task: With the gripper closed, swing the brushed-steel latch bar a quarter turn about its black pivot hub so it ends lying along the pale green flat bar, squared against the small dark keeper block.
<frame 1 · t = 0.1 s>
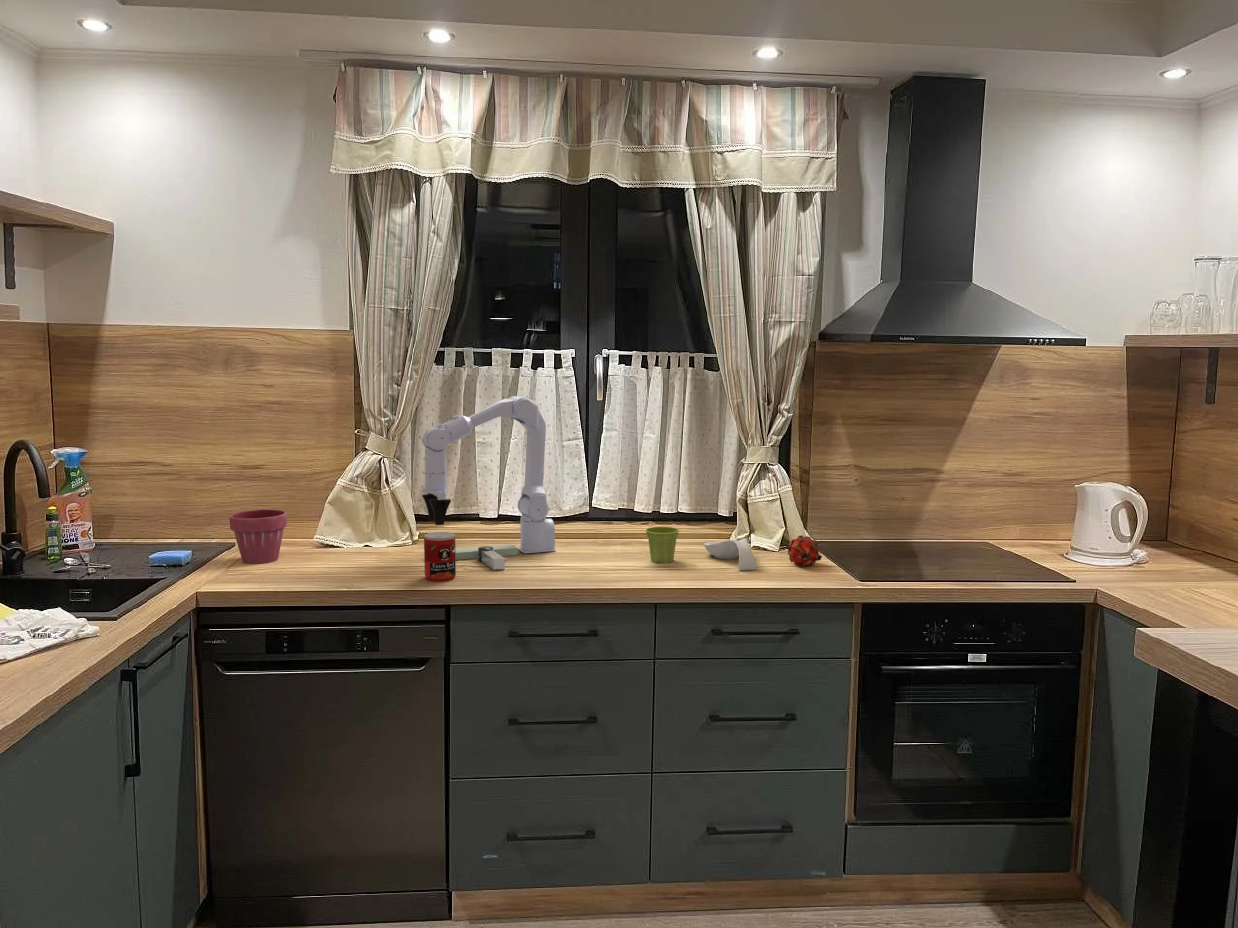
hand: (436, 522, 252), 10 cm above the worktop, fingers open, 7 cm apart
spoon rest: (732, 562, 254), on the worktop
canned food: (440, 578, 232), on the worktop
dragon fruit: (803, 566, 249), on the worktop
latch bar: (491, 557, 247), point 2 cm above the worktop, hinge at 90.0°
plant pot 2: (661, 561, 253), on the worktop
pale green flat bar: (472, 556, 257), on the worktop
keeper: (447, 561, 250), on the worktop
plant pot: (260, 560, 250), on the worktop
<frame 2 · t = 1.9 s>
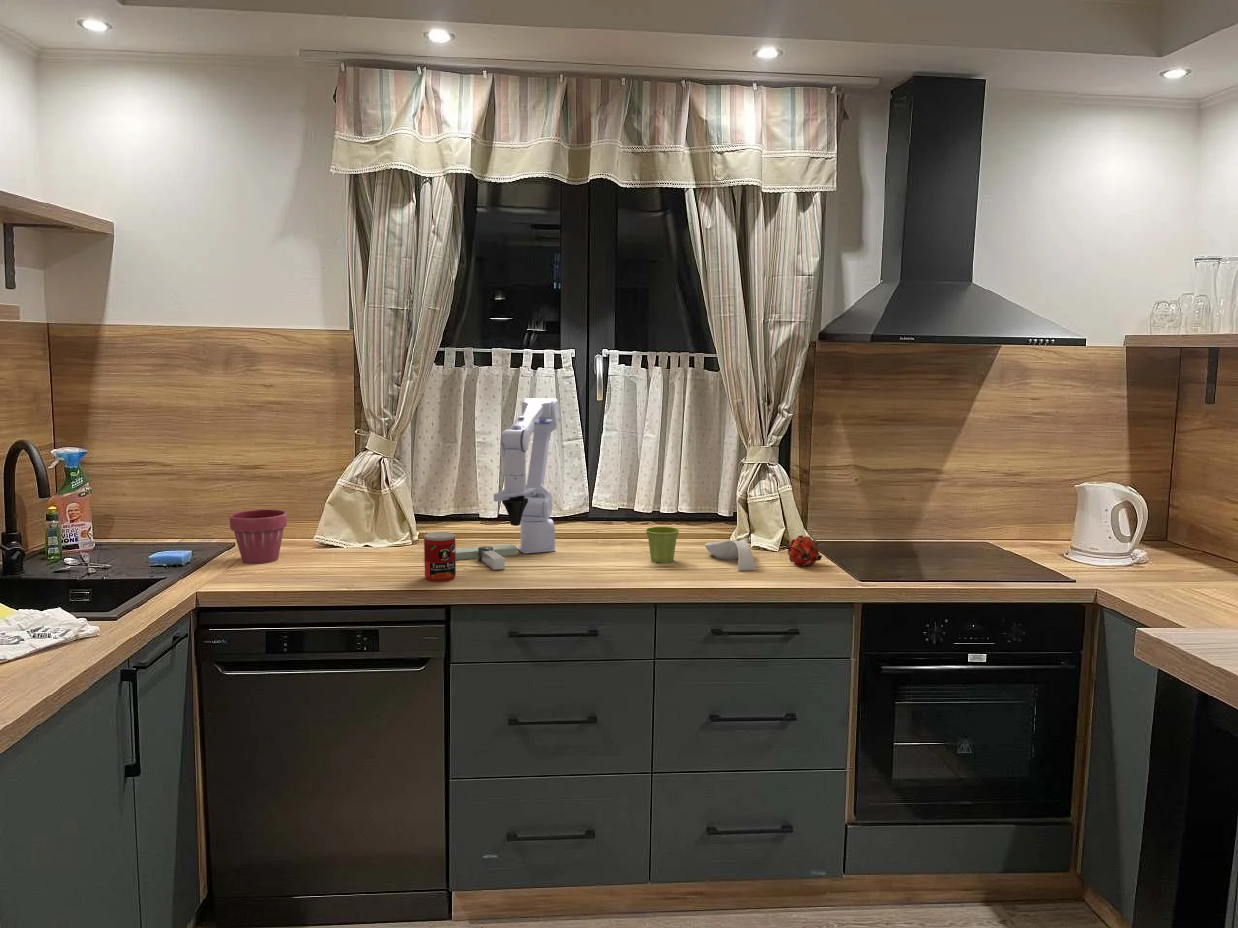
hand: (515, 525, 248), 10 cm above the worktop, fingers closed
nothing on the worktop moved.
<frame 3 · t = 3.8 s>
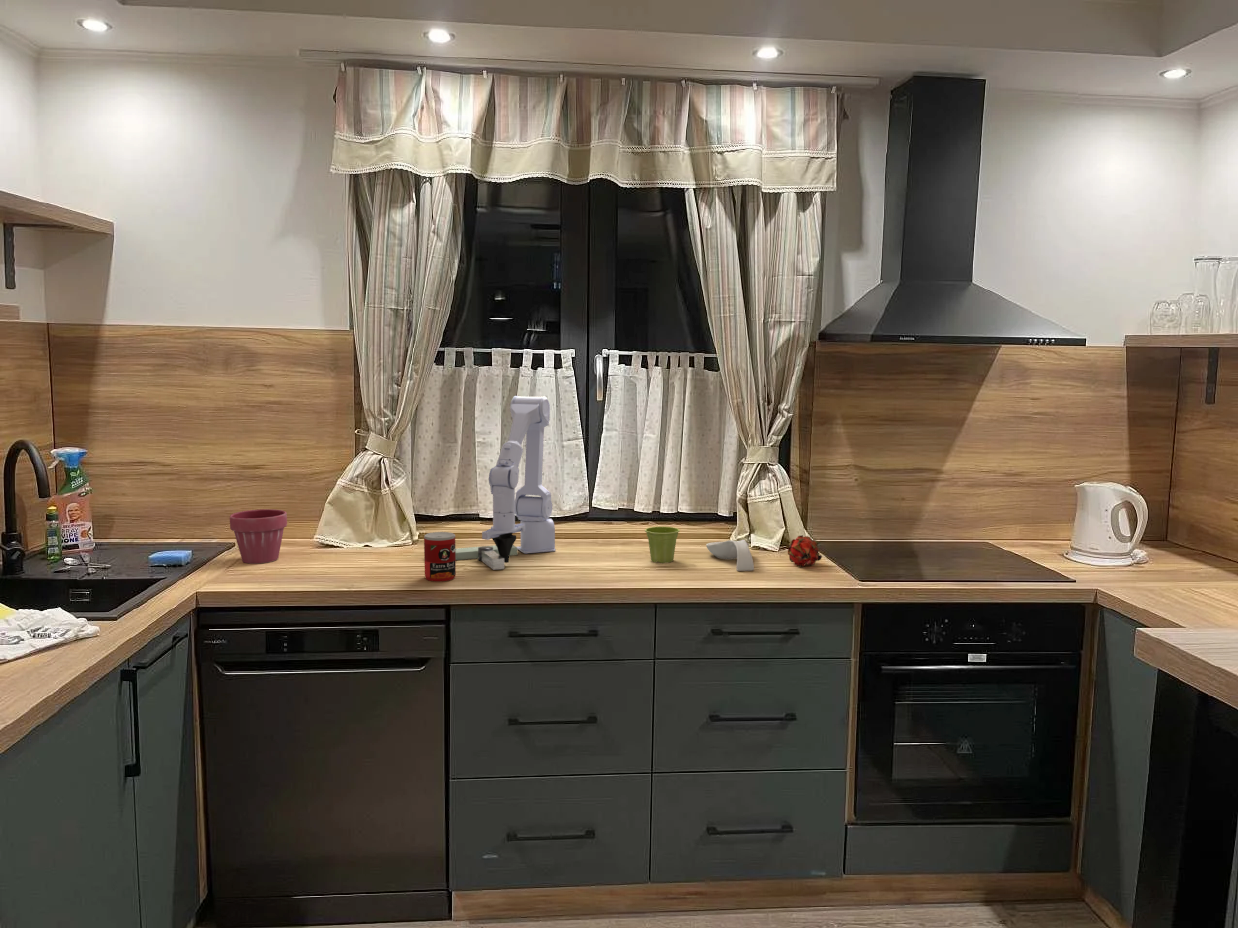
hand: (504, 562, 246), 1 cm above the worktop, fingers closed
latch bar: (491, 557, 247), point 2 cm above the worktop, hinge at 89.6°, touching gripper
everything else where it was.
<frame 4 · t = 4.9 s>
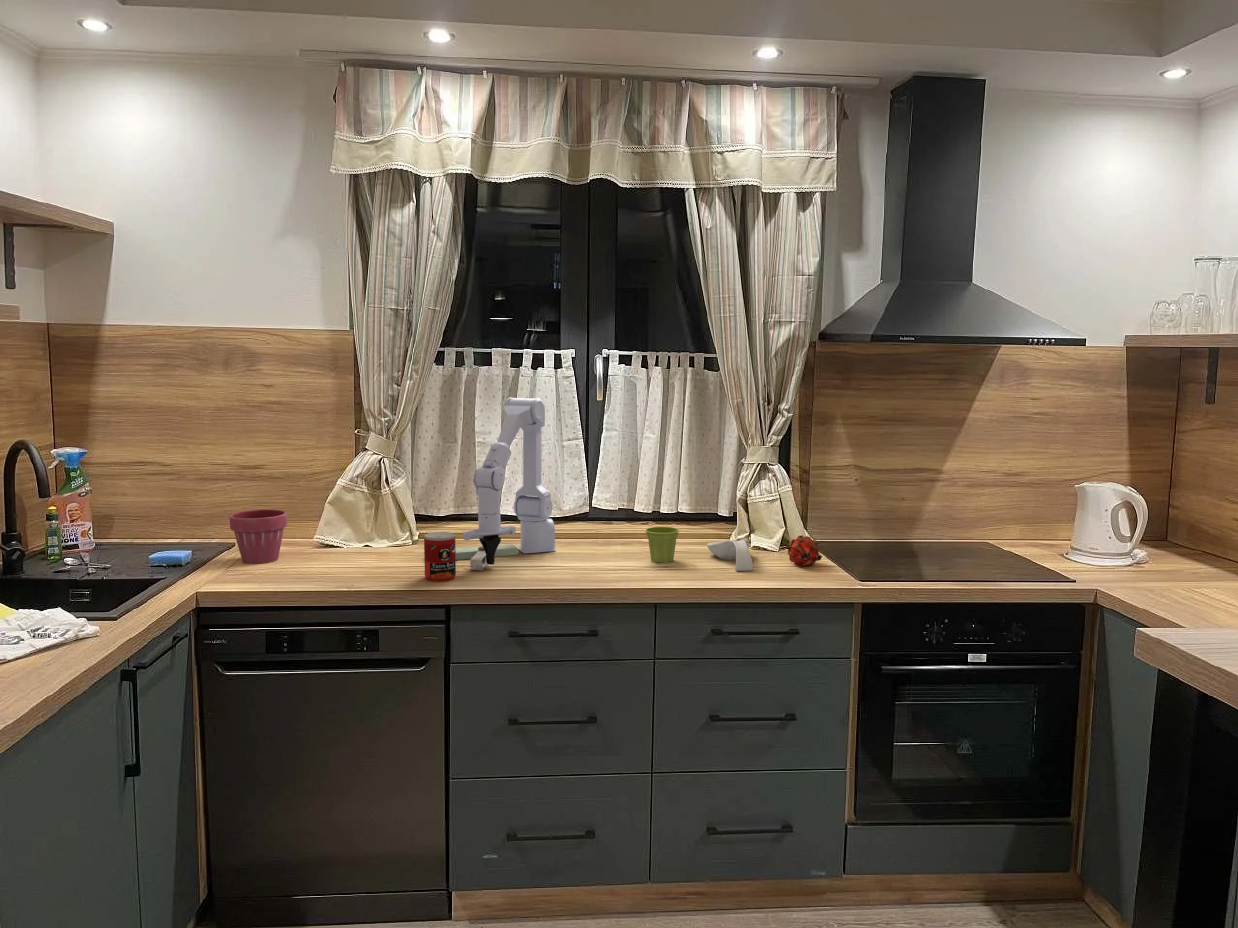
hand: (490, 563, 244), 1 cm above the worktop, fingers closed, pressing on latch bar
latch bar: (481, 557, 247), point 2 cm above the worktop, hinge at 63.0°, touching gripper
everything else where it was.
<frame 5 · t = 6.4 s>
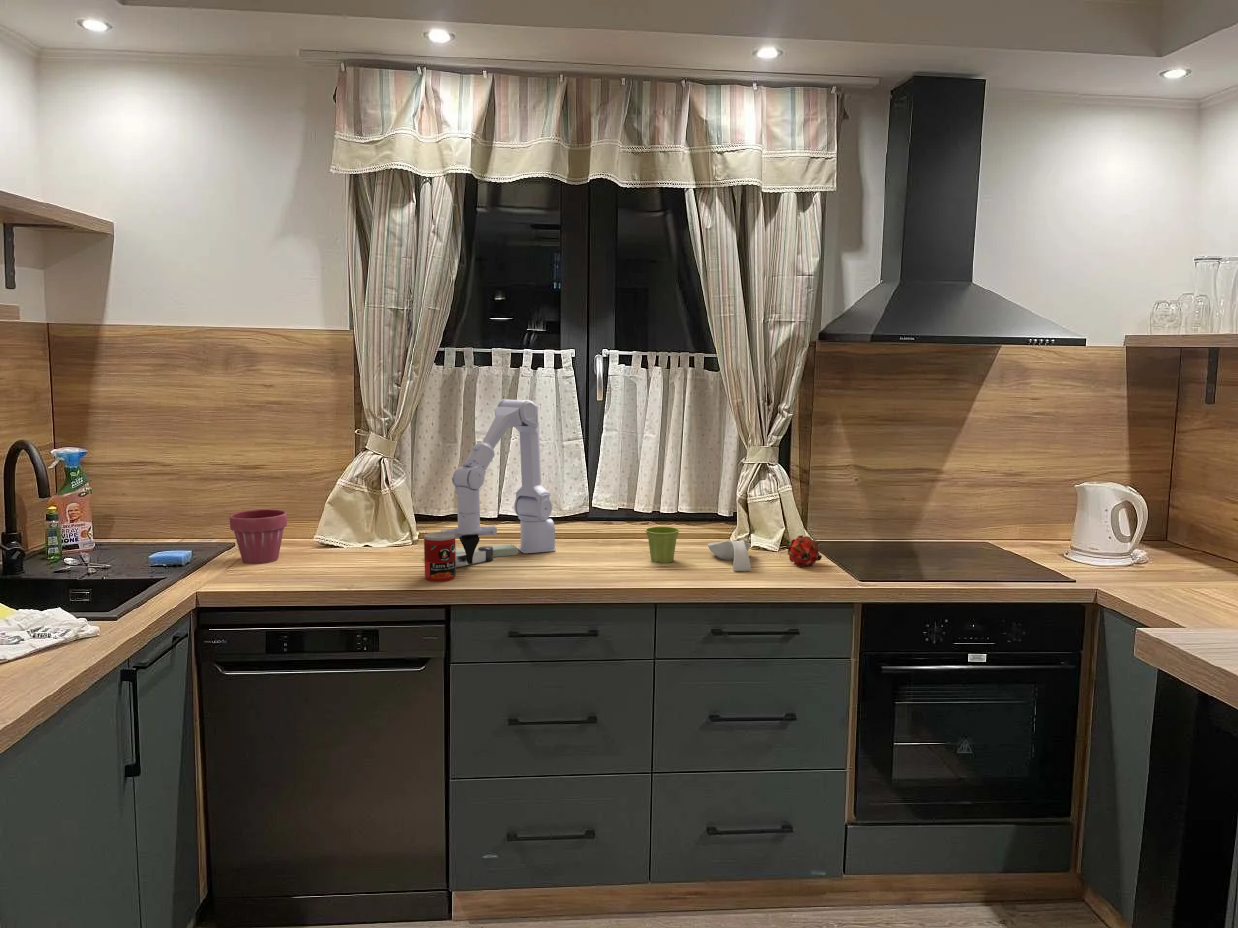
hand: (469, 563, 244), 1 cm above the worktop, fingers closed, pressing on latch bar
latch bar: (470, 556, 248), point 2 cm above the worktop, hinge at 25.3°, touching gripper
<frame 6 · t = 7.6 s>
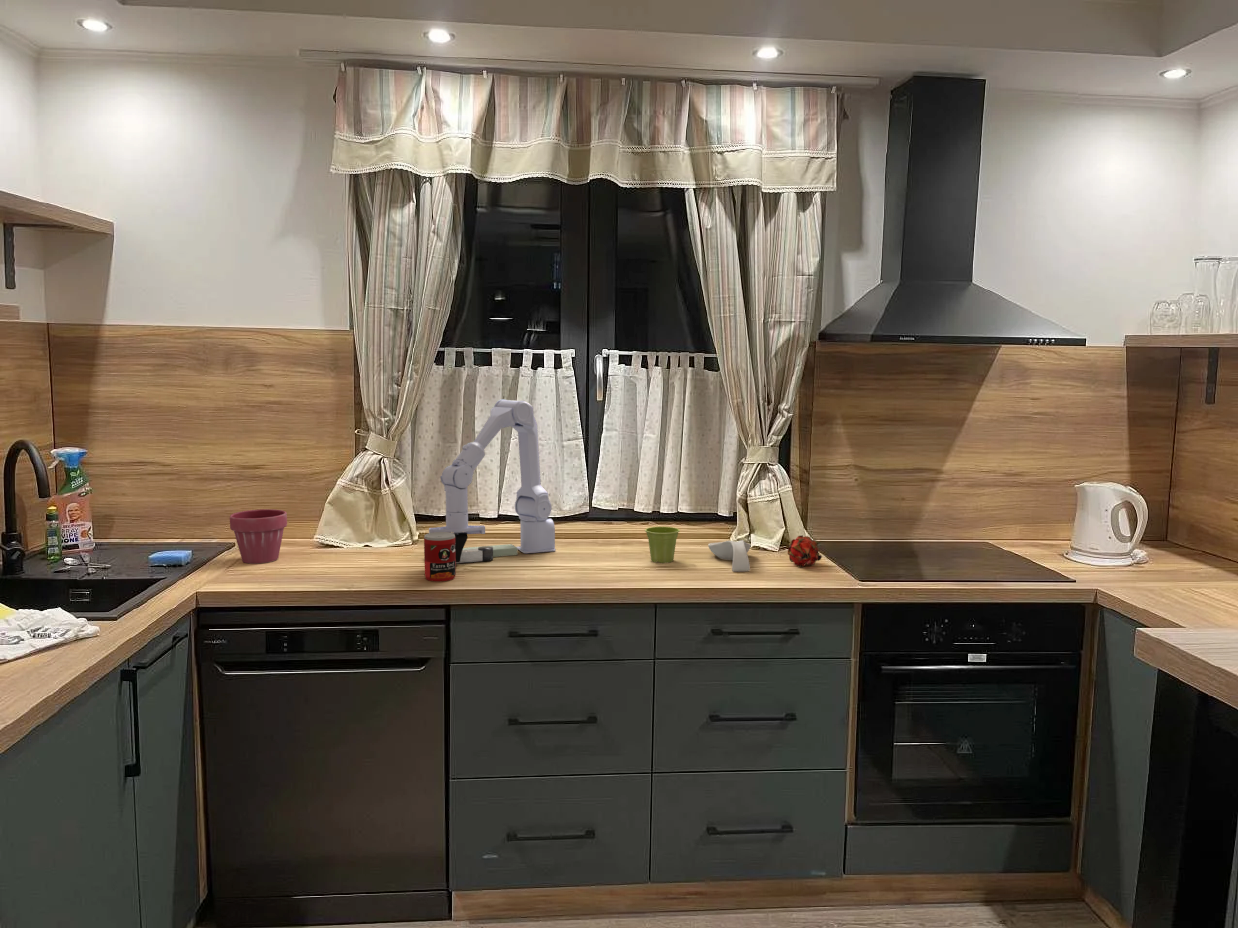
hand: (457, 561, 246), 1 cm above the worktop, fingers closed, pressing on latch bar
latch bar: (466, 555, 250), point 2 cm above the worktop, hinge at -0.1°, touching gripper
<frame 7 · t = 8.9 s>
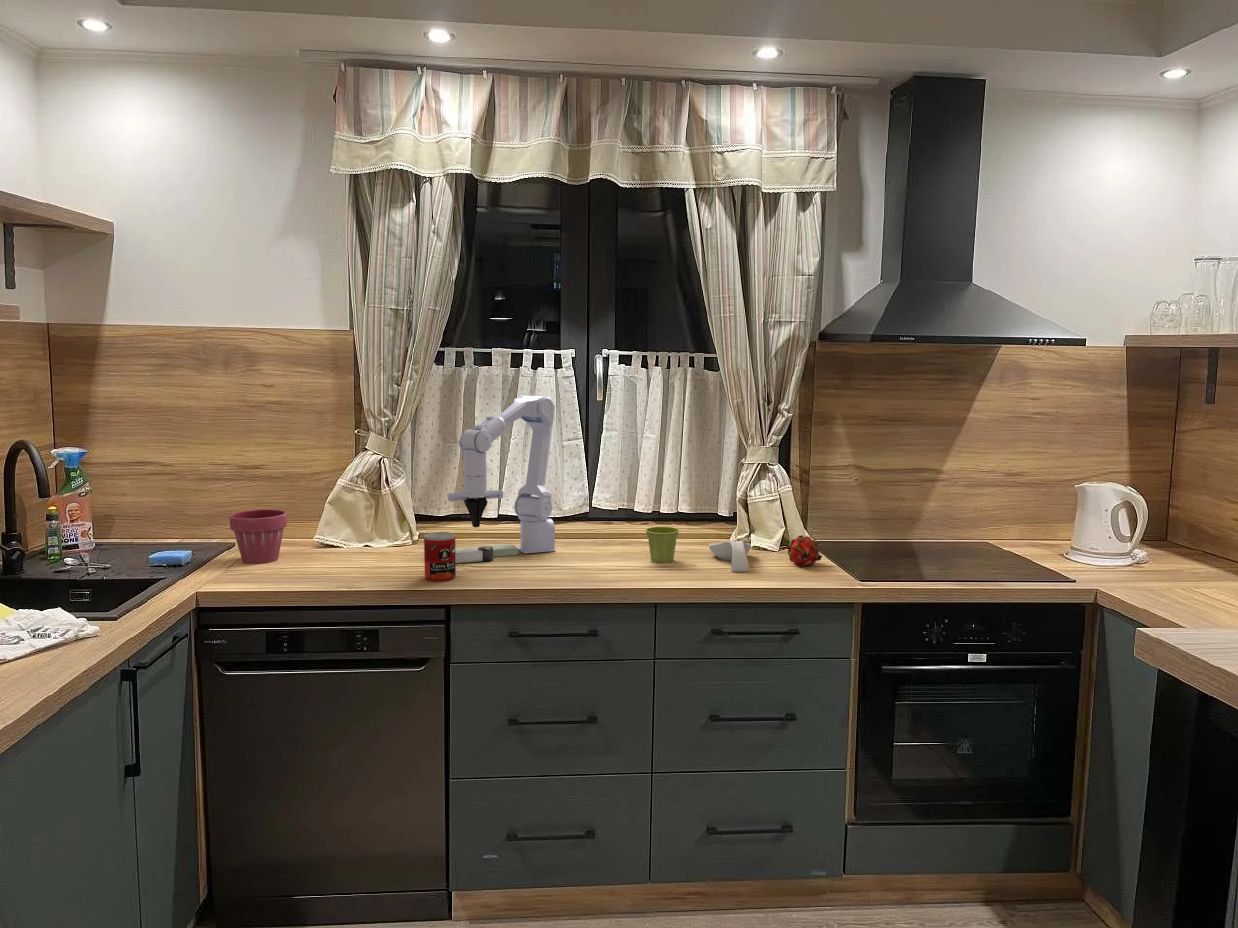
hand: (475, 526, 245), 10 cm above the worktop, fingers closed
latch bar: (466, 555, 250), point 2 cm above the worktop, hinge at -0.2°
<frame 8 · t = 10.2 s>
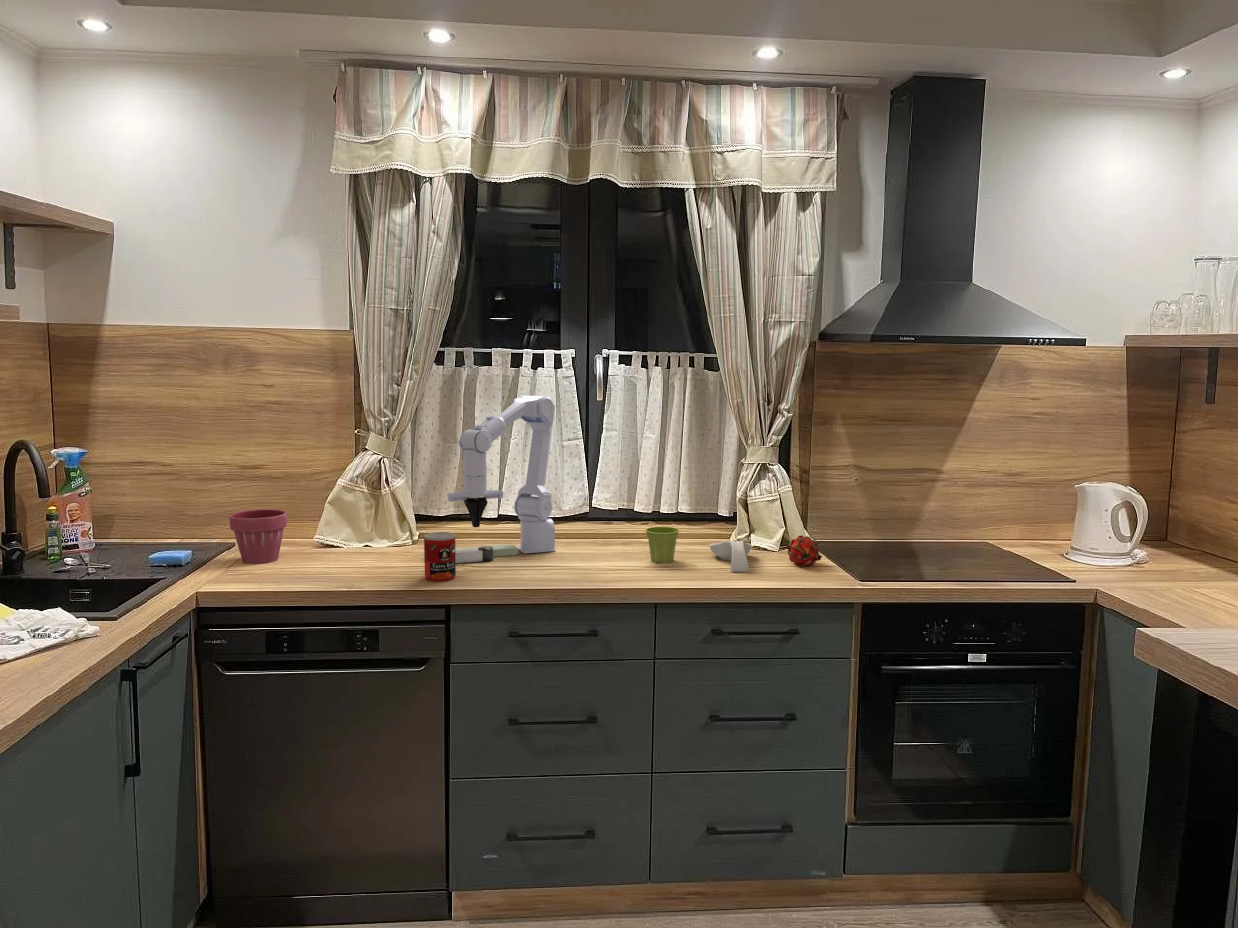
hand: (475, 526, 245), 10 cm above the worktop, fingers closed
at the end: latch bar at +0° (first picture: +90°) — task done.
